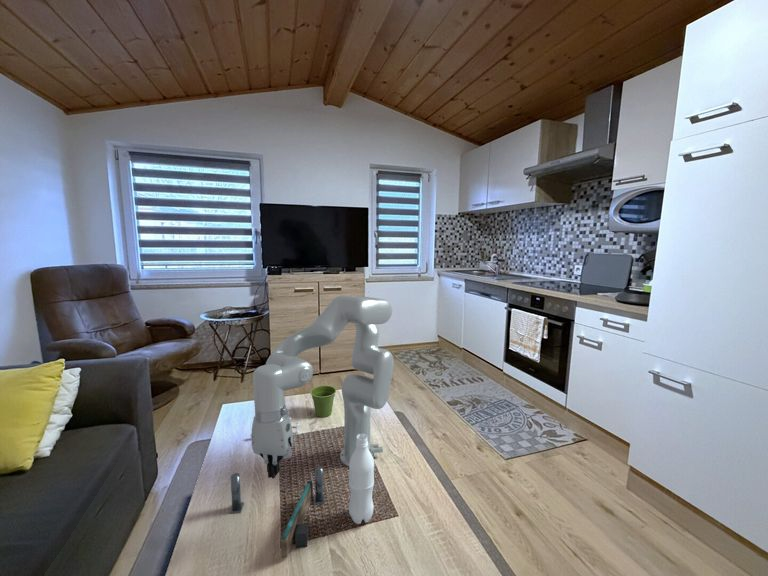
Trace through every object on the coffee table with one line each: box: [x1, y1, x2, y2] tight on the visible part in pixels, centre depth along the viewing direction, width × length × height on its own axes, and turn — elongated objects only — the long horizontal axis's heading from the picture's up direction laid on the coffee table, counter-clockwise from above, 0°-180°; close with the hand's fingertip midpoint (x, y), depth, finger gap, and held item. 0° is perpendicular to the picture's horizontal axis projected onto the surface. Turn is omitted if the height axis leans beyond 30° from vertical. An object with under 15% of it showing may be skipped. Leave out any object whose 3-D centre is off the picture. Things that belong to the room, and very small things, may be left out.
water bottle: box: [348, 434, 375, 525], centre depth 93 cm, size 7×7×25 cm
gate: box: [280, 479, 314, 558], centre depth 90 cm, size 20×2×6 cm, turn 174°
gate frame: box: [228, 465, 326, 549], centre depth 91 cm, size 27×17×11 cm, turn 99°
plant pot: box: [309, 384, 337, 418], centre depth 150 cm, size 12×12×11 cm
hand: (273, 474), depth 88 cm, fingers closed
